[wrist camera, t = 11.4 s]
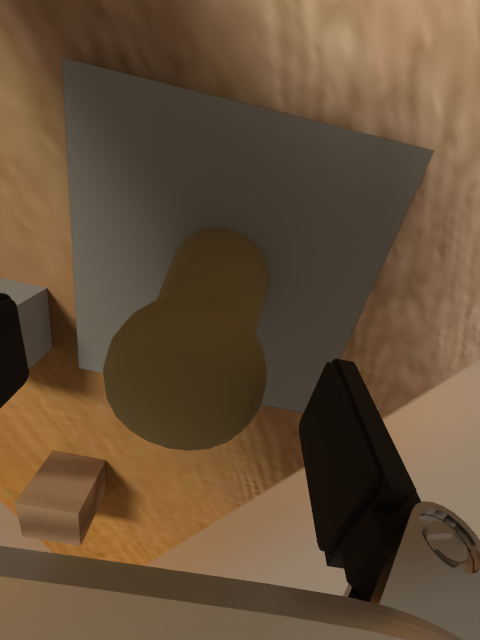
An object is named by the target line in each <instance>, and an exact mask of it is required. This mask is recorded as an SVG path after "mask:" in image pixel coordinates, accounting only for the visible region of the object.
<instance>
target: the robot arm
mask: <svg viewBox="0 0 480 640" xmlns="http://www.w3.org/2000/svg"><path fill="white" fill-rule="evenodd" d="M28 376H29V369H28V363H27V358H26V353H25V347H24V342H23V336H22V331H21V326H20V320H19V315H18V309H17V305H16V303H15V301H13V300H12V299H11V297H10V296H9V295H8V294H5V293H0V408H1V407H2V406H3V405H4V404H5V403H6V402H7V401H8V400H9V399H10V398H11V397H12V396H13V395H14V394H15V393H16V392H17V391H18V390H19V389H20V388H21V387H22V386H23V385H24V384H25V382H26V381H27V379H28ZM299 435H300V441H301V447H302V453H303V459H304V465H305V471H306V477H307V483H308V489H309V495H310V501H311V507H312V513H313V519H314V525H315V531H316V537H317V543H318V546H319V548H320V550H321V551H325V557H326V563H327V566H331V567H338V568H344V570H345V575H346V579H347V582H348V583H349V584H348V586H347V589H346V591H345V593H344V595H343V596H338V595H332V594H326V593H320V592H313V591H308V590H302V589H296V588H289V587H284V586H277V585H271V584H265V583H258V582H252V581H245V580H237V579H231V578H224V577H217V576H210V575H203V574H195V573H189V572H182V571H175V570H168V569H161V568H154V567H148V566H141V565H134V564H126V563H119V562H112V561H105V560H98V559H91V558H84V557H76V556H69V555H62V554H55V553H48V552H40V551H33V550H26V549H19V548H11V547H4V546H0V640H480V540H479V539H478V537H477V535H476V534H475V533H474V532H473V531H472V529H471V528H470V527H469V526H468V525H467V524H466V523H465V522H464V521H463V520H462V519H461V518H459V517H458V516H457V515H456V514H455V513H453V512H452V511H450V510H448V509H447V508H445V507H444V506H441V505H438V504H436V503H433V502H421V500H420V498H419V496H418V494H417V492H416V488H415V486H414V484H413V482H412V480H411V478H410V476H409V474H408V472H407V470H406V468H405V466H404V464H403V462H402V460H401V458H400V455H399V453H398V451H397V449H396V447H395V445H394V443H393V441H392V439H391V437H390V435H389V433H388V431H387V429H386V427H385V425H384V423H383V420H382V418H381V416H380V414H379V412H378V410H377V408H376V406H375V404H374V402H373V400H372V398H371V396H370V394H369V391H368V389H367V387H366V385H365V383H364V381H363V379H362V377H361V375H360V373H359V371H358V369H357V367H356V365H355V363H354V362H350V361H345V360H340V359H334V360H333V361H332V362H327V363H326V365H325V366H324V369H323V371H322V373H321V375H320V378H319V380H318V382H317V384H316V387H315V389H314V391H313V393H312V395H311V398H310V400H309V402H308V404H307V407H306V409H305V411H304V413H303V416H302V418H301V420H300V424H299Z"/></svg>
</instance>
